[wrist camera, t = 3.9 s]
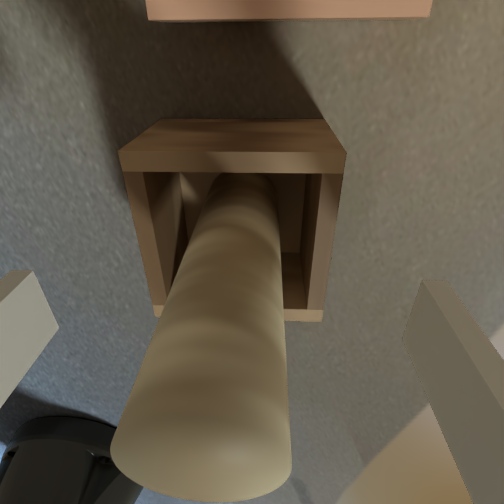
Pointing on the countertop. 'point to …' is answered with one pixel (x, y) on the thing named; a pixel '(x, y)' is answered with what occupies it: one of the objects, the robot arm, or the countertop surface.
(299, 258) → the small wooden box
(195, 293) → the dowel
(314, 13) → the tray
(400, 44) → the countertop surface
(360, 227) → the countertop surface
